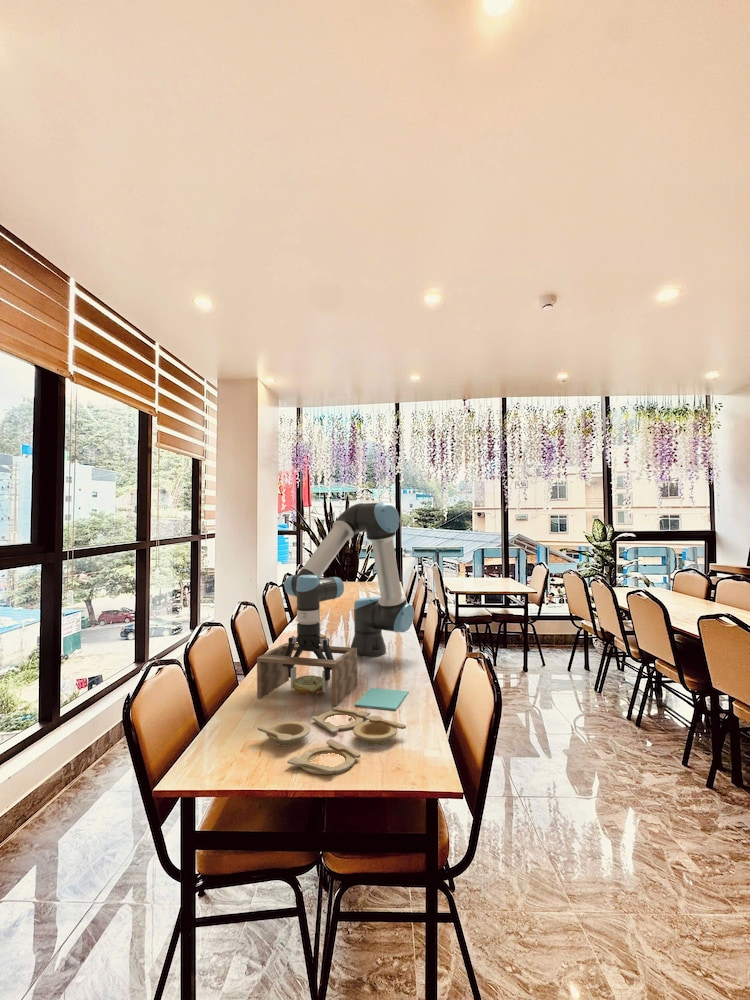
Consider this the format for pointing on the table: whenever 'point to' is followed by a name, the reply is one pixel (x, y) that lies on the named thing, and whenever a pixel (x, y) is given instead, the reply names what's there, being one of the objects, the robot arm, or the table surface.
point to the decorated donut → (308, 684)
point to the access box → (277, 674)
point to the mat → (382, 698)
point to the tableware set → (367, 731)
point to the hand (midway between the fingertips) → (309, 688)
